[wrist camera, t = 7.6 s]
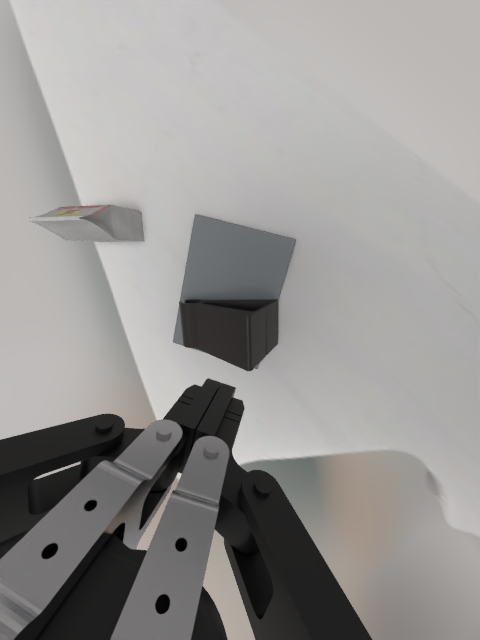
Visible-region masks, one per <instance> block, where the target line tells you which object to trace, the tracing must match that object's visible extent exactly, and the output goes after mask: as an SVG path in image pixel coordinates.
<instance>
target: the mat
mask: <svg viewBox="0 0 480 640" xmlns="http://www.w3.org/2000/svg"><path fill="white" fill-rule="evenodd" d="M295 242H296V239H292V238H288V237H284V236H280V235H276V234H272V233H268V232H264V231H260V230H256V229H252V228H248V227H244V226H240V225H236V224H232V223H228V222H224V221H220V220H216V219H212V218H208V217H204V216H200V215H196V214H195V217H194V223H193V228H192V234H191V240H190V246H189V252H188V258H187V263H186V269H185V275H184V281H183V287H182V293H181V298H180V301H182V303H185V301H184V300H189V299H199V300H267V299H277V300H278V299H279V295H280V292H281V289H282V285H283V282H284V279H285V275H286V272H287V269H288V265H289V262H290V258H291V255H292V252H293V248H294V245H295ZM173 342H174V343H177V344H180V345H183V336H182V326H181V316H180V306H179V310H178V316H177V322H176V328H175V333H174V339H173ZM183 346H184V345H183ZM193 349H196V348H193ZM196 350H199V349H196ZM199 351H201V350H199ZM202 352H204V351H202ZM205 353H206V352H205ZM258 366H259V364H258V365H257V366H256V367H255V369H258Z"/></svg>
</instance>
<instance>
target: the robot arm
mask: <svg viewBox="0 0 480 640" xmlns="http://www.w3.org/2000/svg"><path fill="white" fill-rule="evenodd" d="M235 389H236V388H235V387H232V386H229V385H226V384H223V383H222V384H221V383H220V382H217V381H214V380H211V379H207V380H206V381H205V383H204V384H203V386H202V387H201V386H198V385H193V386H191V387H189V388H187V389H186V390H185V391H184V393H183V394H182V396H180V398H179V399H178V401H177V402H176V403H175V404H174V405H173V407H172V408H171V409H170V411H169V412H168V413H167V414H166V416H165V417H164V418H163V420H158V421H155V422H153V423H151V424H150V425H149V426H148V427H147V428H146V429H133V428H125V423H124V421H123V419H122V418H121V417H119V416H117V415H114V414H101V415H97V416H93V417H89V418H85V419H81V420H77V421H74V422H70V423H65V424H62V425H58V426H53V427H50V428H45V429H42V430H38V431H34V432H30V433H26V434H22V435H18V436H14V437H10V438H6V439H2V440H0V640H227V636H226V632H225V629H224V625H223V622H222V620H221V617H220V614H219V612H218V610H217V608H216V605H215V603H214V602H213V600H212V598H211V597H210V595H209V593H208V592H207V591H206V590H205V589H204V587H203V586H202V585H203V580H204V576H205V571H206V566H207V561H208V557H209V552H210V547H211V543H212V538H213V533H214V529H215V530H216V531H217V532H218V533H219V534H221V536H223V537H224V545H225V549H226V552H227V555H228V558H229V561H230V564H231V567H232V570H233V573H234V576H235V579H236V582H237V585H238V588H239V591H240V594H241V597H242V600H243V603H244V606H245V609H246V612H247V615H248V618H249V621H250V624H251V627H252V630H253V633H254V636H255V639H256V640H372V639H371V637H370V635H369V633H368V632H367V630H366V629H365V627H364V625H363V624H362V622H361V620H360V618H359V617H358V615H357V613H356V612H355V610H354V609H353V607H352V605H351V604H350V602H349V600H348V599H347V597H346V595H345V594H344V592H343V590H342V589H341V587H340V585H339V584H338V582H337V581H336V579H335V577H334V575H333V574H332V572H331V570H330V569H329V567H328V565H327V564H326V562H325V560H324V559H323V557H322V555H321V554H320V552H319V550H318V549H317V547H316V545H315V544H314V542H313V540H312V539H311V537H310V535H309V534H308V532H307V530H306V529H305V527H304V525H303V524H302V522H301V520H300V519H299V517H298V515H297V514H296V512H295V510H294V509H293V507H292V505H291V504H290V502H289V500H288V499H287V497H286V495H285V494H284V492H283V490H282V489H281V487H280V485H279V484H278V482H277V481H276V479H275V478H274V477H273V476H271V475H270V474H268V473H267V472H265V471H261V470H252V471H250V472H246V471H245V470H243V469H242V468H241V467H240V466H239V465H238V464H237V463H236V461H235V460H234V458H233V455H232V448H233V444H234V441H235V438H236V435H237V432H238V428H239V425H240V421H241V418H242V415H243V411H244V405H243V401H242V400H239V399H236V398H233V396H234V393H235ZM79 461H81V464H79V465H76V466H74V467H71V468H68V469H65V470H63V471H59V472H57V473H54V474H51V475H48V476H45V477H43V478H40V479H35V478H36V477H37V476H40V475H42V474H45V473H48V472H51V471H54V470H56V469H59V468H62V467H65V466H68V465H71V464H74V463H77V462H79ZM178 472H179V473H182V475H181V478H180V480H179V483H178V485H177V487H176V490H175V491H174V490H173V492H172V494H171V496H170V498H169V500H168V503H167V505H166V507H165V510H164V512H163V515H162V517H161V519H160V522H159V524H158V527H157V529H156V531H155V534H154V537H153V539H152V541H151V543H150V546H149V548H148V551H146V550H136V547H137V545H138V543H139V541H140V539H141V537H142V535H143V533H144V532H145V530H146V529H147V527H148V525H149V524H150V522H151V520H152V519H153V517H154V516H155V514H156V512H157V511H158V509H159V507H160V506H161V504H162V503H163V501H164V499H165V498H166V496H167V494H168V493H169V491H170V489H171V486H172V483H173V481H174V479H175V477H176V475H177V473H178ZM33 479H35V480H33Z"/></svg>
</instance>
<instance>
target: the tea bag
mask: <svg viewBox="0 0 480 640" xmlns="http://www.w3.org/2000/svg"><path fill="white" fill-rule="evenodd" d="M30 218H33V219H36V220H32V221H30V222H33V223H36V224H38V225H40V226H42V227H44V228H46V229H48V230H50V231H51V232H53V233H55V234H56V235H58V236H60V237H61V238H63V239H65V240H73V241H98V242H115V241H144V233H143V223H142V213H141V212H138V211H134V210H130V209H126V208H122V207H118V206H113V205H98V206H75V207H74V206H73V207H59V208H57V209H55V210H52V211H50V212H48V213H46V214H43V215H40V216H37V217H30Z"/></svg>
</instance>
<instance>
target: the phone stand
mask: <svg viewBox="0 0 480 640" xmlns="http://www.w3.org/2000/svg"><path fill="white" fill-rule="evenodd" d="M184 301H185V303H182V301H180V302H179V306H180V316H181V326H182V336H183V345H184V346H185V347H188V348H196V349H199V350H201V351H204V352H206V353H208V354H210V355H213V356H215V357H217V358H219V359H222V360H224V361H226V362H228V363H231V364H233V365H235V366H237V367H240V368H242V369H244V370H246V371H252V370H253V369H254V368H255V367H256V366H257V365H258V364H259V363H260V362H261V361H262V360H263V358H264V357H265V356H266V355H267V354H268V353H269V352H270V351H271V350H272V349H273V348H274V347H275V346H276V345H277V344H278V300H277V299H267V300H199V299H189V300H184Z"/></svg>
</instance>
